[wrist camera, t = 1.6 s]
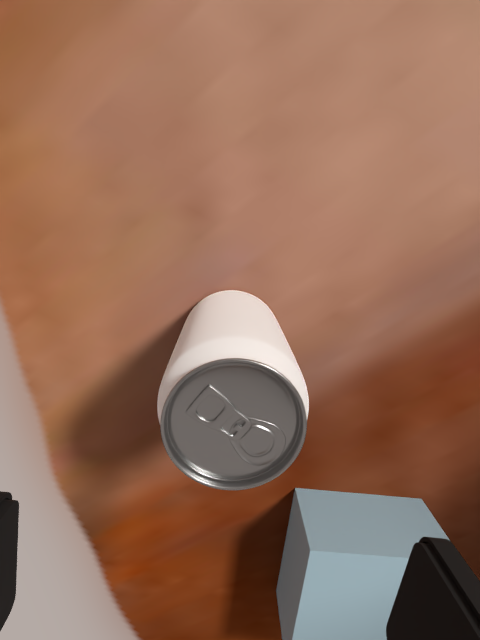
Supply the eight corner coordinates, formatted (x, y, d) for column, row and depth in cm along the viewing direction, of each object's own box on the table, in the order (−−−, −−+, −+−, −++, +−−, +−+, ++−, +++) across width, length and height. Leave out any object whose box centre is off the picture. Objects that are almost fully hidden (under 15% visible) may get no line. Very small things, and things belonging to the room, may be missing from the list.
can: (238, 397, 28) (245, 527, 16) (164, 342, 26) (114, 440, 15) (298, 328, 26) (353, 415, 15) (223, 268, 25) (220, 312, 14)
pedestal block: (419, 496, 31) (465, 562, 25) (392, 596, 33) (427, 677, 27) (294, 486, 30) (310, 550, 24) (275, 588, 32) (286, 669, 27)
